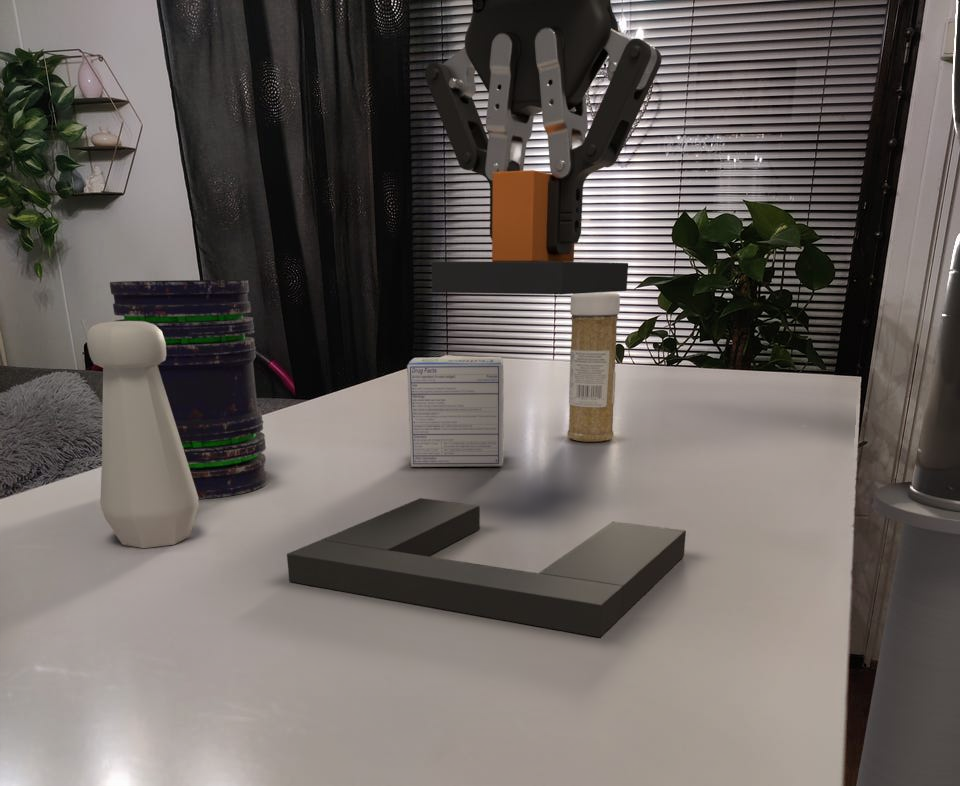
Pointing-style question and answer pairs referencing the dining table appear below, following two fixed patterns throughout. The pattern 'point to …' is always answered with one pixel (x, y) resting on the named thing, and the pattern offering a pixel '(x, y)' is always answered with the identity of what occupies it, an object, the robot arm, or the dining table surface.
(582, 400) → the sprinkles bottle
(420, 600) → the large u-shaped block
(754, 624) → the dining table surface
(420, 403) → the medicine box
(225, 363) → the storage jar
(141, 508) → the salt shaker
